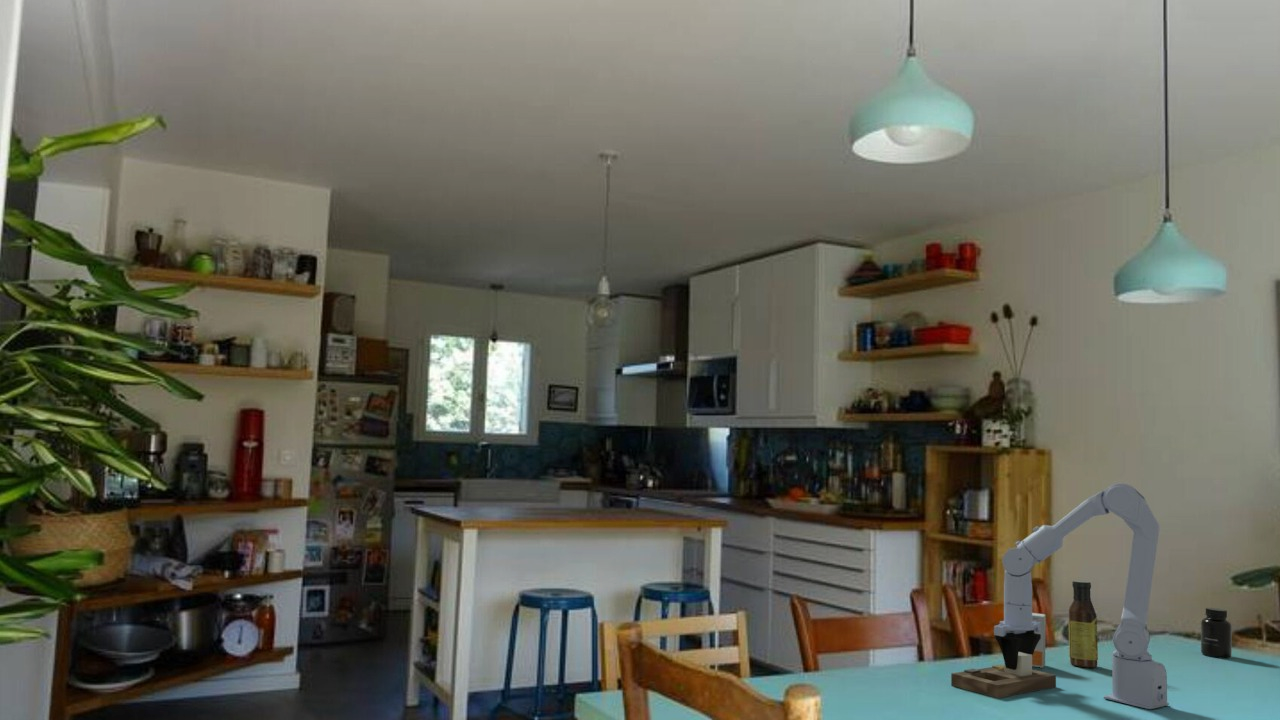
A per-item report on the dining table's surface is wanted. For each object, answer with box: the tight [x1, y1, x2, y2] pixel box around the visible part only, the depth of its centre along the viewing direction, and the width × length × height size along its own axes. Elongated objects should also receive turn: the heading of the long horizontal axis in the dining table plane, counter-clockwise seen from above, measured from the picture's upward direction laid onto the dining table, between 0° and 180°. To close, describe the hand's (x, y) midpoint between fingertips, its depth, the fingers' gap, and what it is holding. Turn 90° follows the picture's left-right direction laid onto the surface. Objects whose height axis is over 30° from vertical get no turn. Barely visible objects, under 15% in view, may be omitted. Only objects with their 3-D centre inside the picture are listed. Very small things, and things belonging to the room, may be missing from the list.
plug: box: [1005, 652, 1033, 676], centre depth 201 cm, size 4×4×6 cm
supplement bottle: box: [1200, 607, 1233, 659], centre depth 244 cm, size 7×7×12 cm
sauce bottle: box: [1068, 580, 1099, 669], centre depth 224 cm, size 7×6×20 cm
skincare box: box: [1032, 612, 1047, 669], centre depth 222 cm, size 6×4×12 cm
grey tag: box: [963, 668, 981, 674], centre depth 199 cm, size 2×3×1 cm, turn 125°
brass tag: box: [991, 663, 1005, 669], centre depth 205 cm, size 2×3×1 cm, turn 125°
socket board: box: [950, 666, 1057, 699], centre depth 198 cm, size 11×21×2 cm, turn 125°
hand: (1017, 667), depth 201 cm, fingers open, 4 cm apart
